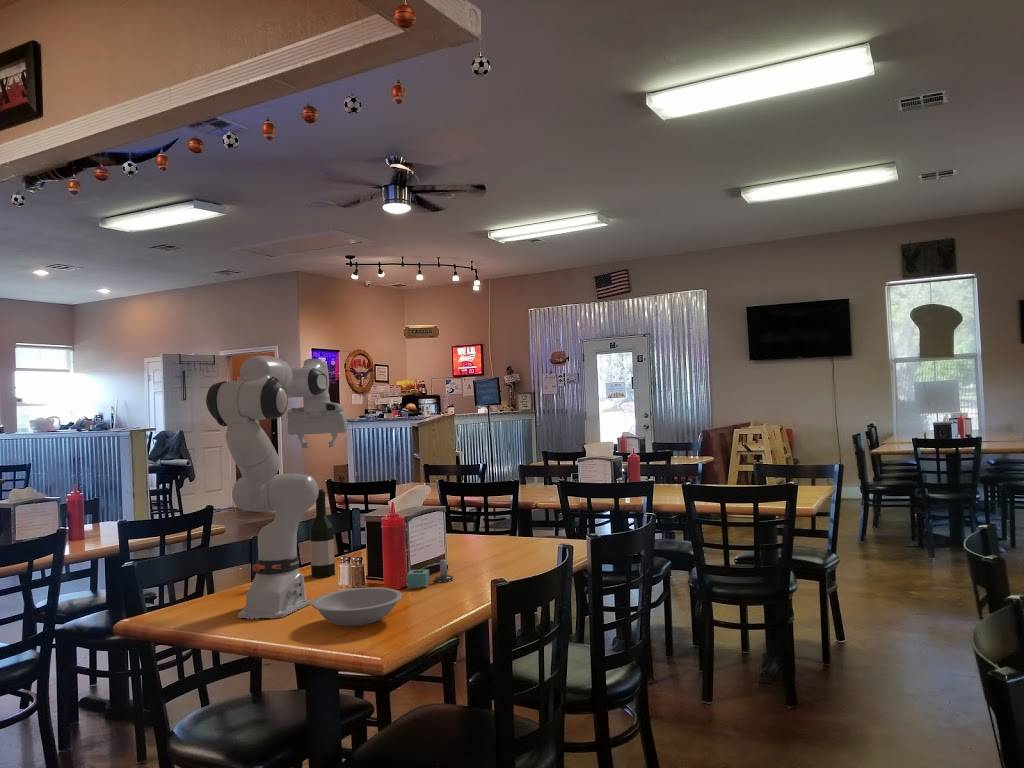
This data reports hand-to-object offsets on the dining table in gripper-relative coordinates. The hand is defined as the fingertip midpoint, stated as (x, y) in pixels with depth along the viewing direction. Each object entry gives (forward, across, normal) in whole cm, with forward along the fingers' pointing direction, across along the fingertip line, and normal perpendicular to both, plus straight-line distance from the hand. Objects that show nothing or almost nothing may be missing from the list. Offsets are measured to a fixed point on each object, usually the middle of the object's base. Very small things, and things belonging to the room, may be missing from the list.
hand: (318, 447), depth 255 cm
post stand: (+45, +42, -3) cm, 62 cm away
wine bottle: (+45, -3, +10) cm, 46 cm away
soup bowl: (+46, +27, -50) cm, 73 cm away
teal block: (+45, +35, -10) cm, 58 cm away
